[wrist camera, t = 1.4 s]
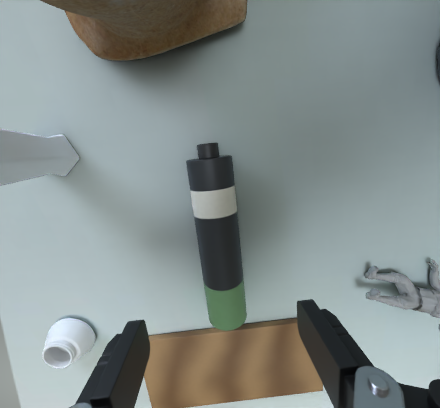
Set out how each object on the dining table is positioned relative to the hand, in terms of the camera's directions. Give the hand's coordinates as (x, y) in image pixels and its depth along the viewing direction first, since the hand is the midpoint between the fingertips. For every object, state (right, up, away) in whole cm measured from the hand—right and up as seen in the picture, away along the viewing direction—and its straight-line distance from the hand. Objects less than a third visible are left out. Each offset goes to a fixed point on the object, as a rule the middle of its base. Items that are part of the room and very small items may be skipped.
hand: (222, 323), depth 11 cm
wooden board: (+2, -14, +16) cm, 21 cm away
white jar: (-17, -9, +14) cm, 24 cm away
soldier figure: (+22, -3, +14) cm, 26 cm away
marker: (0, +3, +11) cm, 12 cm away
